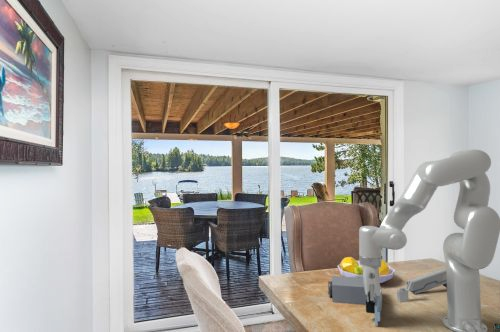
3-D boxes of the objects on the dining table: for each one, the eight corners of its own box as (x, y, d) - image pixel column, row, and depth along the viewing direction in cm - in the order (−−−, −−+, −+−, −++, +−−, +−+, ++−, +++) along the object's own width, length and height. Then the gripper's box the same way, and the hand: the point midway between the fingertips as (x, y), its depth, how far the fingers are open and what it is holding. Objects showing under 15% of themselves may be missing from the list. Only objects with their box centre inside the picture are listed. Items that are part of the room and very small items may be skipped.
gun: (463, 287, 140) (458, 266, 140) (414, 305, 136) (409, 282, 136) (459, 286, 142) (453, 264, 142) (410, 302, 138) (405, 280, 138)
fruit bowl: (357, 268, 175) (357, 248, 175) (406, 281, 153) (405, 257, 153) (324, 279, 158) (323, 256, 159) (373, 295, 136) (372, 268, 137)
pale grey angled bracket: (399, 302, 128) (399, 282, 129) (397, 300, 130) (396, 281, 130) (415, 300, 130) (414, 281, 130) (412, 299, 131) (411, 279, 132)
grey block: (381, 306, 125) (381, 286, 125) (328, 301, 130) (328, 282, 130) (377, 294, 136) (377, 276, 137) (328, 291, 141) (328, 273, 142)
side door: (384, 306, 124) (383, 288, 124) (380, 326, 107) (379, 307, 108) (379, 305, 125) (379, 288, 125) (374, 325, 108) (374, 306, 108)
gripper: (384, 267, 105) (385, 323, 105) (378, 256, 120) (379, 305, 119) (360, 265, 107) (361, 320, 107) (357, 255, 122) (358, 302, 121)
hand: (370, 312), depth 113 cm, fingers closed
